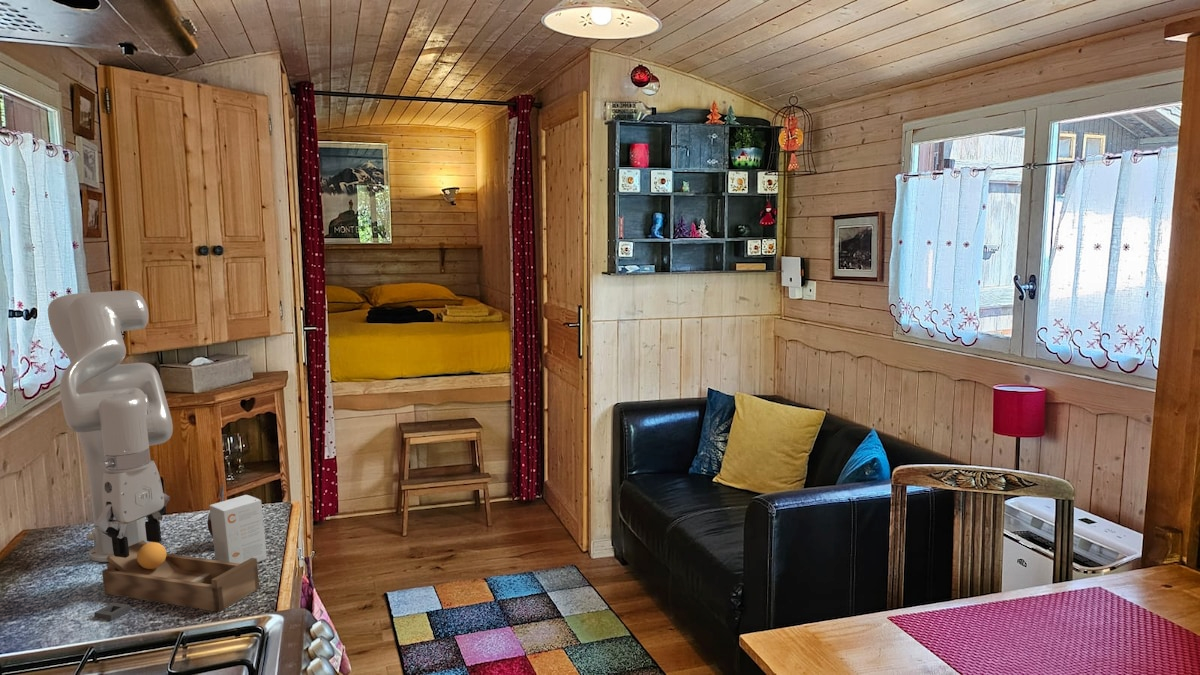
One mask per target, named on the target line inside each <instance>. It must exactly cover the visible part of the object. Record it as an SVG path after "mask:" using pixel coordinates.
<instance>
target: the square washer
mask: <svg viewBox="0 0 1200 675" xmlns="http://www.w3.org/2000/svg"><path fill="white" fill-rule="evenodd" d="M131 607H132V606H131V605H129V604H124V603H121V602H112V603H111V604H108V605H107V606H104V607H102V608H100V609H98V610H96V611H95V612H94V613H93V614H94V618H95V619H99V620H106V621H110V620H111V621H114V620H116V619H118V618H120V617H121V616H123V615H125V614H127V613H130V612H131V611H132V608H131ZM119 616H120V617H119ZM117 617H118V618H117ZM115 618H116V619H115Z"/></svg>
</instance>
